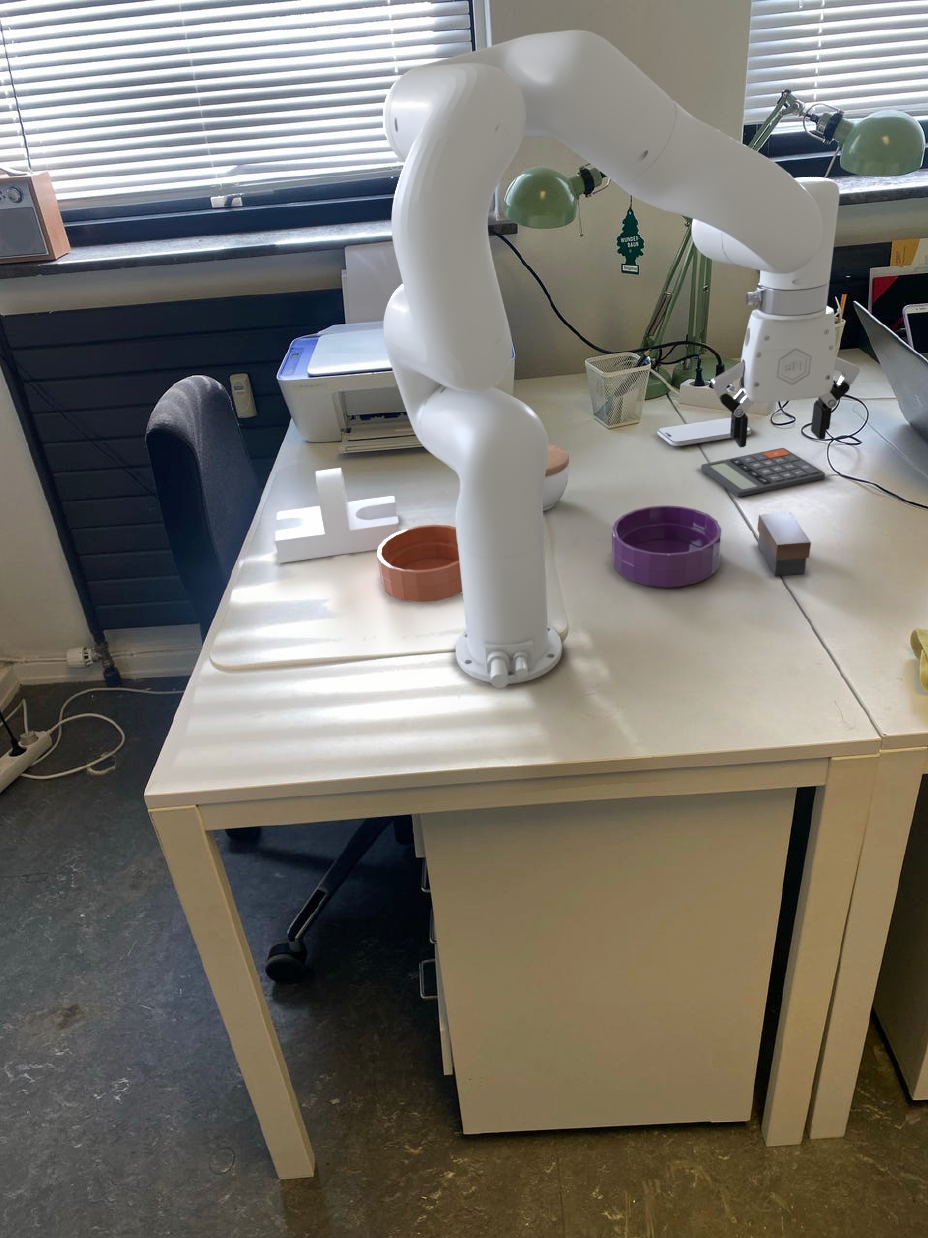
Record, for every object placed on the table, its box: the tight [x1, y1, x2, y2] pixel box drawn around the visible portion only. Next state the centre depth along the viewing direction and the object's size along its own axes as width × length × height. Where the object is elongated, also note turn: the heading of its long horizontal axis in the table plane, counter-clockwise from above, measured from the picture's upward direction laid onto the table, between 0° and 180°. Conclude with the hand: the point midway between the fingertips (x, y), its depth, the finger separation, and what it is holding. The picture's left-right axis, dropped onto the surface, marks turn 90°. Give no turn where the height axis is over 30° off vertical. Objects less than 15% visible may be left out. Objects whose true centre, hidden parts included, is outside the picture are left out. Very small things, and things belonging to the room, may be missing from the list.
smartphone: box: [656, 416, 752, 447], centre depth 157 cm, size 7×1×15 cm
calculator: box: [700, 447, 826, 498], centre depth 142 cm, size 12×1×15 cm
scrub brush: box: [757, 512, 812, 577], centre depth 119 cm, size 9×4×5 cm, turn 0°
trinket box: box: [543, 444, 570, 512], centre depth 138 cm, size 11×11×9 cm
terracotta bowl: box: [376, 524, 463, 603], centre depth 122 cm, size 13×13×5 cm
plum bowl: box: [611, 505, 723, 588], centre depth 120 cm, size 14×14×5 cm
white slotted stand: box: [274, 467, 401, 564], centre depth 133 cm, size 18×10×11 cm, turn 98°
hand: (778, 439), depth 112 cm, fingers open, 9 cm apart
